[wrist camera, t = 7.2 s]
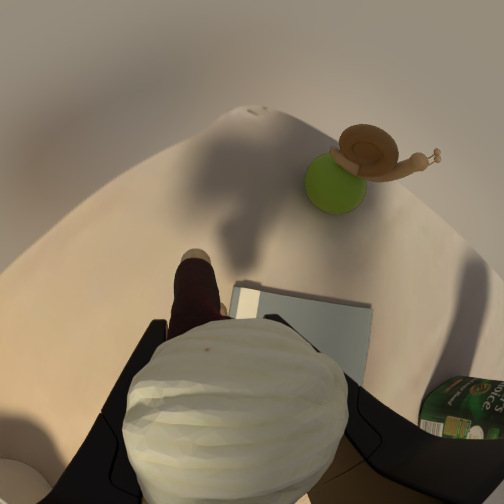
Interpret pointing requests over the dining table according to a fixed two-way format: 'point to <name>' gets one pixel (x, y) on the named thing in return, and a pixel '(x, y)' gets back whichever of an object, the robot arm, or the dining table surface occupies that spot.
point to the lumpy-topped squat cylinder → (21, 483)
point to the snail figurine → (358, 168)
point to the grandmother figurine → (231, 405)
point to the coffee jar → (465, 409)
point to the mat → (314, 324)
